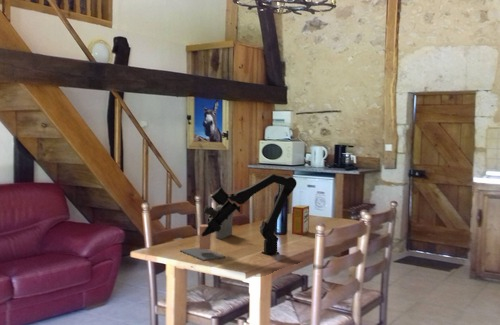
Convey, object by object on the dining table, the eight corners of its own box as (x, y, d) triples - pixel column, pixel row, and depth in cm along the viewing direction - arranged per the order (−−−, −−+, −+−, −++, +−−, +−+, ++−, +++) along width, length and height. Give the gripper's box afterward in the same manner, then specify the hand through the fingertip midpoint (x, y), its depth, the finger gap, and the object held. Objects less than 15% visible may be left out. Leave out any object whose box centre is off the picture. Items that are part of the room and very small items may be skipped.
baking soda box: (298, 230, 319) (299, 204, 318) (308, 232, 315) (309, 205, 314) (291, 233, 310) (292, 206, 309) (302, 234, 307) (302, 207, 306)
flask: (223, 233, 307) (224, 198, 306) (233, 234, 305) (233, 199, 304) (213, 238, 293) (213, 202, 292) (223, 239, 291) (223, 202, 290)
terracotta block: (210, 247, 259) (210, 224, 258) (210, 249, 254) (210, 226, 253) (199, 247, 258) (200, 224, 257) (199, 249, 253) (199, 226, 252)
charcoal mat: (225, 257, 251) (225, 256, 251) (203, 260, 243) (203, 259, 243) (201, 248, 268) (201, 247, 268) (180, 251, 261) (180, 250, 261)
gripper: (213, 197, 264) (190, 219, 264) (213, 202, 245) (189, 226, 245) (229, 213, 265) (206, 235, 265) (230, 219, 246) (206, 243, 246)
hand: (202, 234), depth 255 cm, fingers closed on terracotta block, 5 cm apart
